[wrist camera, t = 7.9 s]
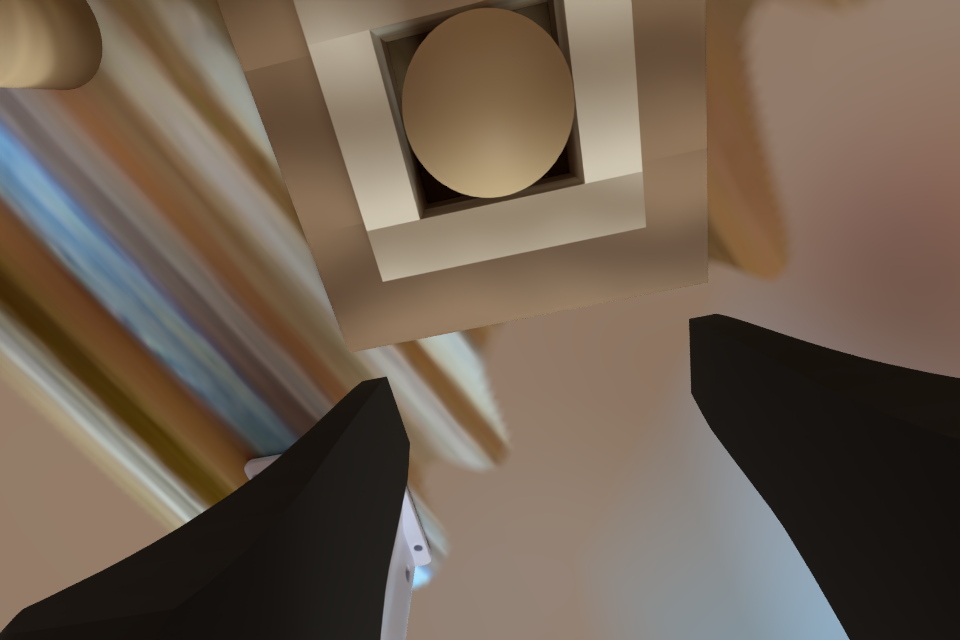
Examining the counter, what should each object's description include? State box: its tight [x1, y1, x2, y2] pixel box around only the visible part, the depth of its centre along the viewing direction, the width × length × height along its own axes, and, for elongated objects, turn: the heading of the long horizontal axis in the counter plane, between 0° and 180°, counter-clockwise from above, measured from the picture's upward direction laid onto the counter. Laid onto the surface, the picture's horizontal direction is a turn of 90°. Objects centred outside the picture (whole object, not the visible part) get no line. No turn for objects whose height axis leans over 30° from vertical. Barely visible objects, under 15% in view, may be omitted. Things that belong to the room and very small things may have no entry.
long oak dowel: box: [402, 8, 575, 198], centre depth 14 cm, size 4×4×8 cm
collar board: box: [217, 0, 708, 353], centre depth 17 cm, size 17×16×3 cm
